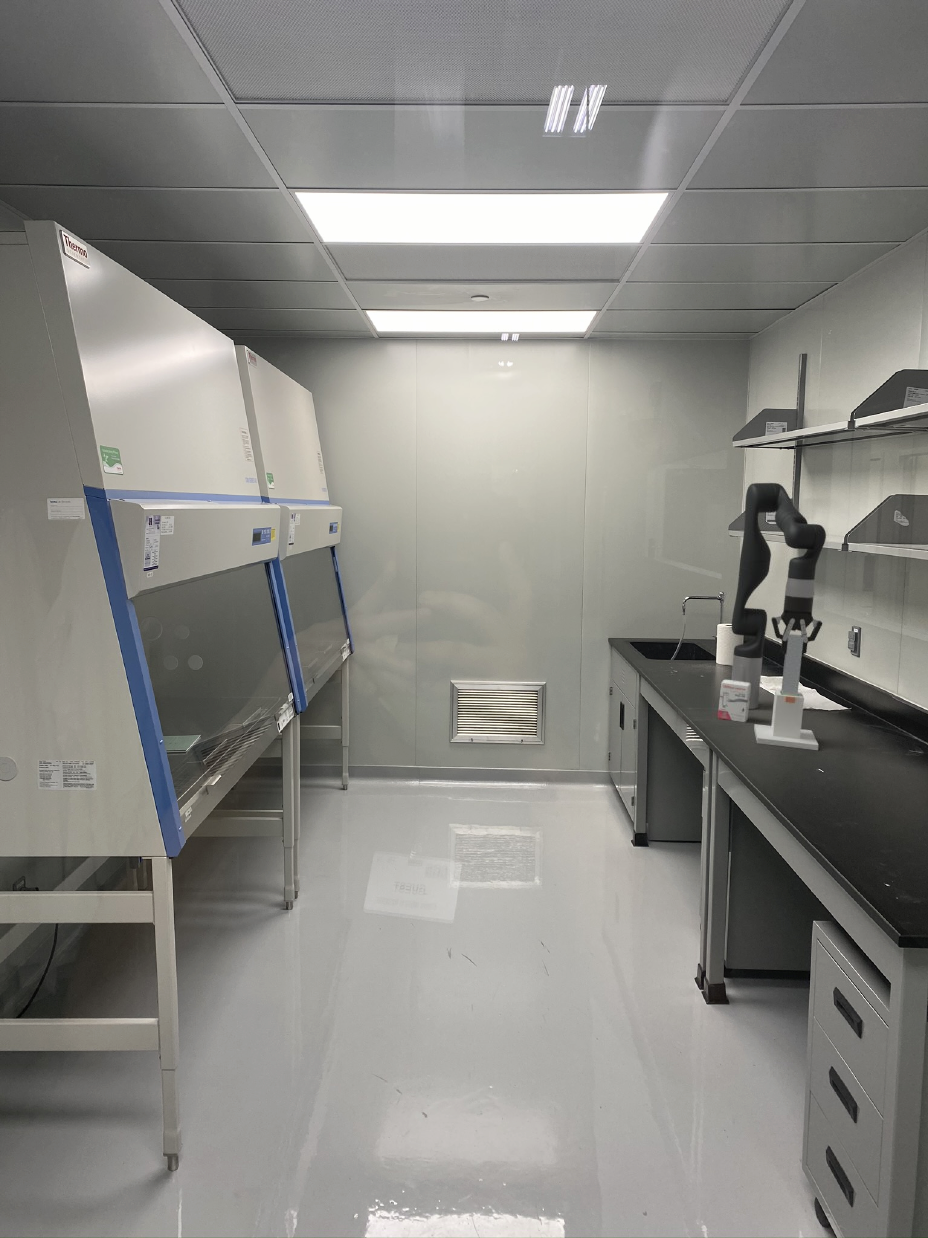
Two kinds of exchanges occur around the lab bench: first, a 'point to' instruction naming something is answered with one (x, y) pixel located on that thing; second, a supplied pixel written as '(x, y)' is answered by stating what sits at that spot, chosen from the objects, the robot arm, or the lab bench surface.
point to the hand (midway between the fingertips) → (793, 654)
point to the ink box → (734, 700)
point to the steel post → (792, 665)
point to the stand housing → (786, 724)
